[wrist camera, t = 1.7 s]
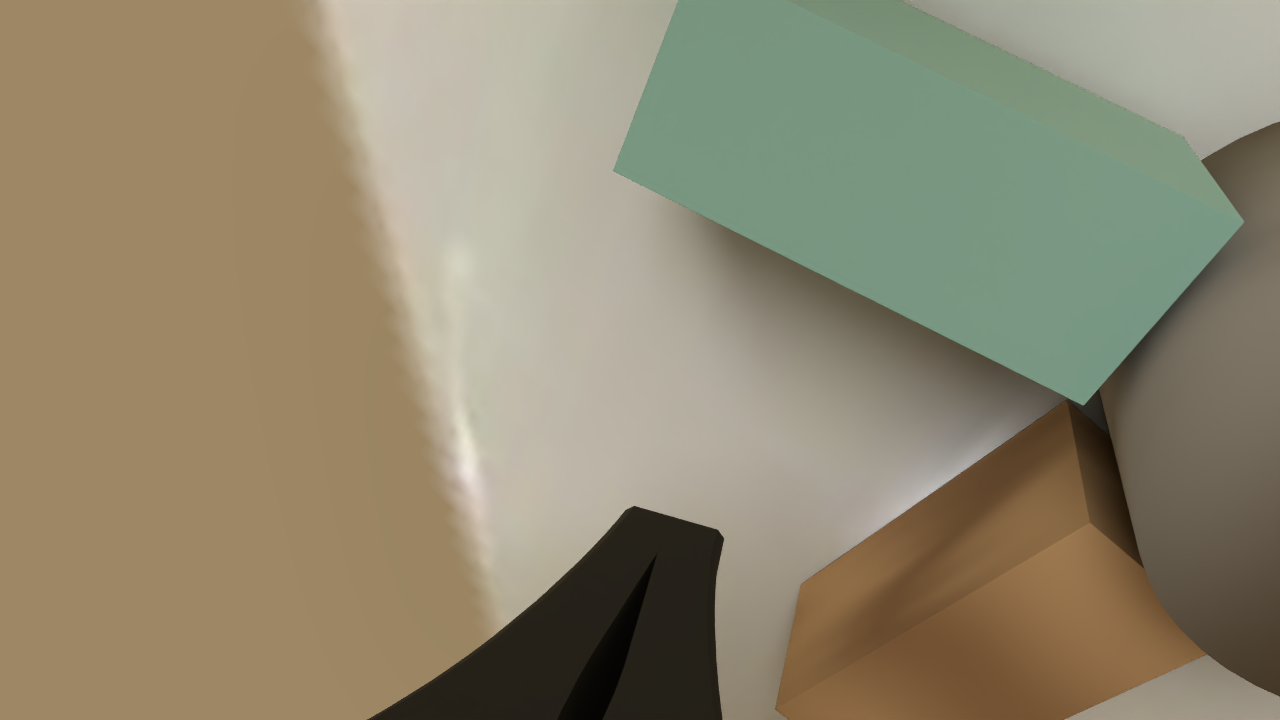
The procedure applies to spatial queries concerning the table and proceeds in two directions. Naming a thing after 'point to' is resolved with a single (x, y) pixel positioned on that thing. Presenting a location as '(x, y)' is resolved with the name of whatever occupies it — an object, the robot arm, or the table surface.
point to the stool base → (1085, 526)
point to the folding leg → (930, 177)
